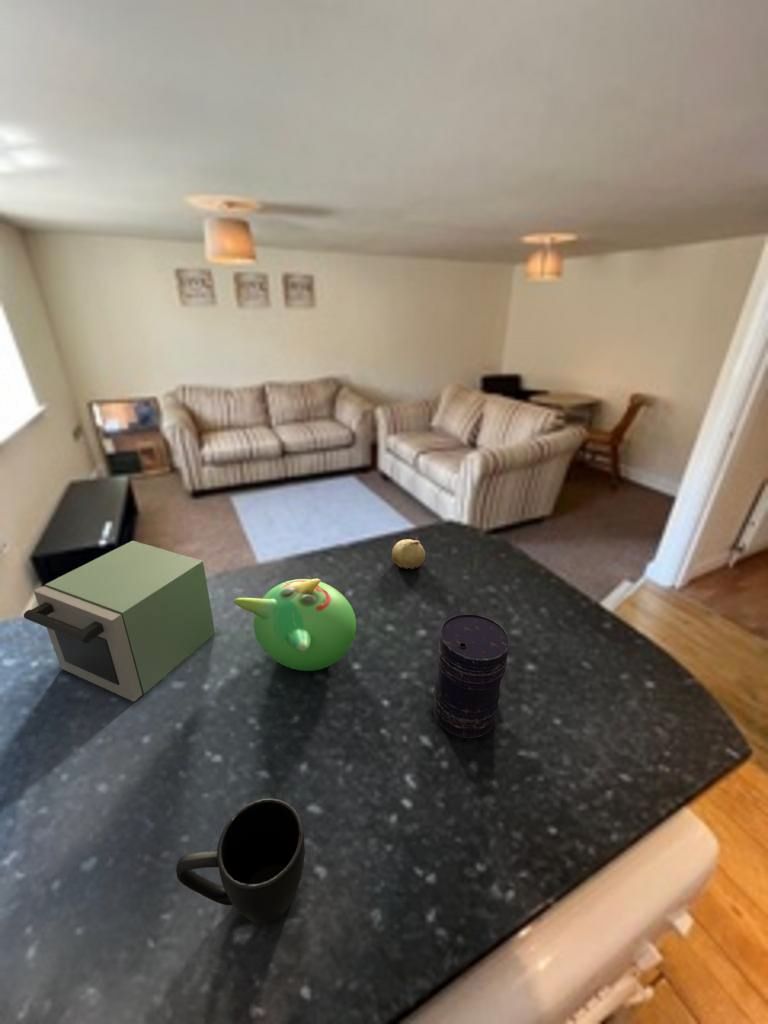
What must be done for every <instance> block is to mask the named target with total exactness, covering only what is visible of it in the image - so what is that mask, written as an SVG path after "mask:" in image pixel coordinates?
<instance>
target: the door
mask: <svg viewBox="0 0 768 1024" xmlns="http://www.w3.org/2000/svg"><path fill="white" fill-rule="evenodd" d="M33 593H34V596H35V599H36V602H37V604H38V605H37V606H35V607H33V608H31V609H28V610H26V611H25V612H24V613H23V618H24V619H25V620H28V621H30V622H32V623H35V624H38V625H40V626H42V627H44V628H46V630H47V632H48V635H49V639H50V641H51V644H52V647H53V651H54V652H55V655H56V659H57V661H58V664H59V666H60V669H61V670H64V671H66V672H68V673H70V674H73V675H74V676H77V677H78V678H81V679H82V680H85V681H87V682H90V683H92V684H94V685H96V686H98V687H100V688H103V689H105V690H107V691H109V692H112V693H113V694H116V695H118V696H120V697H123V698H125V699H127V700H129V701H131V702H133V703H134V702H136V701H137V700H138V699H140V697H142V696H143V693H142V691H141V687H140V683H139V680H138V676H137V672H136V668H135V664H134V661H133V657H132V653H131V649H130V645H129V642H128V638H127V634H126V630H125V626H124V623H123V619H122V615H121V614H119V613H116V612H113V611H110V610H108V609H105V608H102V607H100V606H97V605H94V604H92V603H89V602H86V601H83V600H81V599H78V598H75V597H73V596H70V595H67V594H65V593H62V592H59V591H57V590H54V589H51V588H48V587H46V586H45V585H43V586H40V587H39V588H37V589H35V590H33Z"/></svg>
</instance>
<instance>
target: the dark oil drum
mask: <svg viewBox="0 0 768 1024" xmlns="http://www.w3.org/2000/svg"><path fill="white" fill-rule="evenodd" d="M440 628H441V629H440V636H439V642H438V648H437V649H438V650H437V658H436V659H437V665H438V671H437V675H436V677H435V683H434V689H433V705H432V711H433V715H434V717H435V719H436V721H437V723H438V724H439V725H440V726H441V728H443V729H444V730H445V731H446V732H448V733H450V734H452V735H454V736H457V737H461V738H466V739H473V738H479V737H482V736H485V735H486V734H487V733H489V732H490V731H491V730H492V728H493V727H494V725H495V721H496V718H497V713H498V711H499V705H500V697H501V682H502V679H503V677H504V675H505V673H506V667H507V662H508V653H509V648H510V637H509V635H508V633H507V631H506V630H505V629H504V628H503V626H501V625H500V624H499V623H498V622H496V621H494V620H492V619H491V618H489V617H485V616H482V615H477V614H473V613H471V614H470V613H466V614H457V615H455V616H452V617H450V618H448V619H447V620H446V621H445V622H443V624H442V626H441V627H440Z"/></svg>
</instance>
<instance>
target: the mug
mask: <svg viewBox="0 0 768 1024" xmlns="http://www.w3.org/2000/svg"><path fill="white" fill-rule="evenodd" d="M226 823H227V824H225V826H224V828H223V830H222V832H221V834H220V836H219V839H218V844H217V848H216V850H205V851H197V852H192V853H188V854H185V855H182V856H180V858H179V859H178V861H177V862H176V867H175V874H176V878H177V880H178V882H180V883H181V884H182V885H183V886H185V887H186V888H188V889H190V890H192V891H193V892H194V893H198V894H199V895H201V896H203V897H205V898H207V899H209V900H211V901H213V902H215V903H217V904H220V905H224V906H233V907H234V908H235V909H236V910H237V911H238V912H239V913H240V914H241V915H242V916H243V917H245V918H246V919H248V921H250V922H251V923H253V924H255V925H259V926H266V925H270V924H273V923H275V922H276V921H277V922H278V920H280V919H281V918H282V917H284V915H285V914H286V913H287V912H288V910H289V909H290V908H291V905H292V903H293V902H294V898H295V895H296V893H297V891H298V888H299V886H300V884H301V879H302V876H303V870H304V865H305V853H306V850H305V849H306V848H305V834H304V828H303V827H304V826H303V822H302V819H301V816H300V815H299V813H298V812H297V811H296V809H295V807H293V806H291V805H290V804H289V803H288V802H285V801H283V800H281V799H276V798H261V799H258V800H255V801H252V802H250V803H248V804H246V805H245V806H243V807H242V808H240V809H239V810H238V811H236V813H234V815H233V816H231V818H229V820H228V822H226ZM207 868H209V869H210V868H218V872H219V876H220V880H221V883H222V885H221V884H219V883H218V884H217V883H216V882H213V881H211V880H209V879H208V878H206V877H204V876H202V875H200V874H199V873H197V872H195V871H194V870H198V869H207Z"/></svg>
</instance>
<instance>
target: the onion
mask: <svg viewBox="0 0 768 1024" xmlns="http://www.w3.org/2000/svg"><path fill="white" fill-rule="evenodd" d="M418 538H419V537H417V536H416V537H415V540H414V539H410V538H409V539H402V540H399V541H398V542H396V543H395V545H393V548H392V550H391V558H392V561H393V562H394V564H395V565H396V566H398V567H399V568H401V569H407V570H414V569H417V568H419V567H420V566H422V564H423V563H424V562H425V559H426V551H425V549H424V547H423V545H422V544H421V542H420V540H418ZM415 567H416V568H415ZM408 568H410V569H408Z"/></svg>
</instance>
